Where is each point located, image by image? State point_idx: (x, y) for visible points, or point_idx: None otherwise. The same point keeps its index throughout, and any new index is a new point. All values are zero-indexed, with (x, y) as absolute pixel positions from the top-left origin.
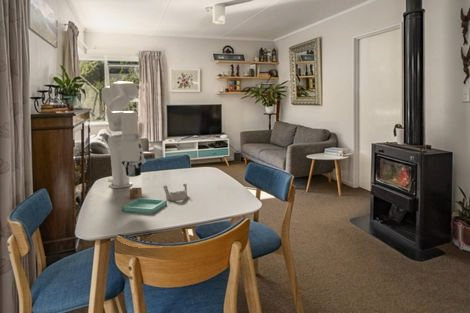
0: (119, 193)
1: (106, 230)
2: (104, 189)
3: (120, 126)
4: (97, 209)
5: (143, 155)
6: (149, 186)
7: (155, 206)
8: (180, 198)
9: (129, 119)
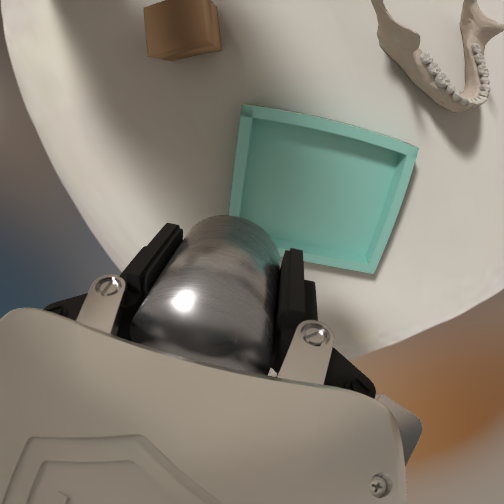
0: (87, 11)
1: None
2: (26, 8)
3: None
4: (120, 217)
5: (400, 488)
6: None
7: (383, 243)
8: (466, 110)
9: None
